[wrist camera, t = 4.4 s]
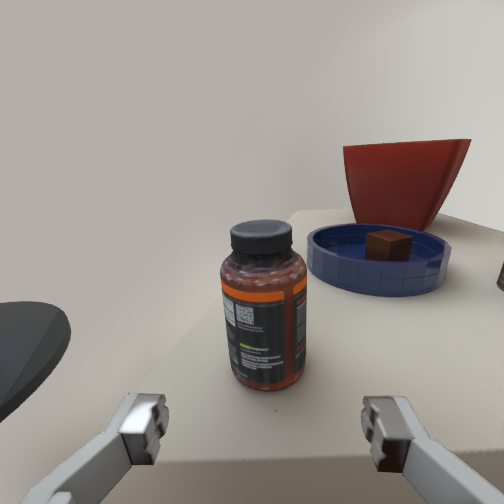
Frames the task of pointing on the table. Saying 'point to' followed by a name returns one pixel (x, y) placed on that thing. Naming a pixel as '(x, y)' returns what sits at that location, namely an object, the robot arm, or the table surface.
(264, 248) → the supplement bottle
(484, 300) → the table surface
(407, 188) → the flower pot
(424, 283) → the bowl
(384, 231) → the block
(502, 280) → the box
